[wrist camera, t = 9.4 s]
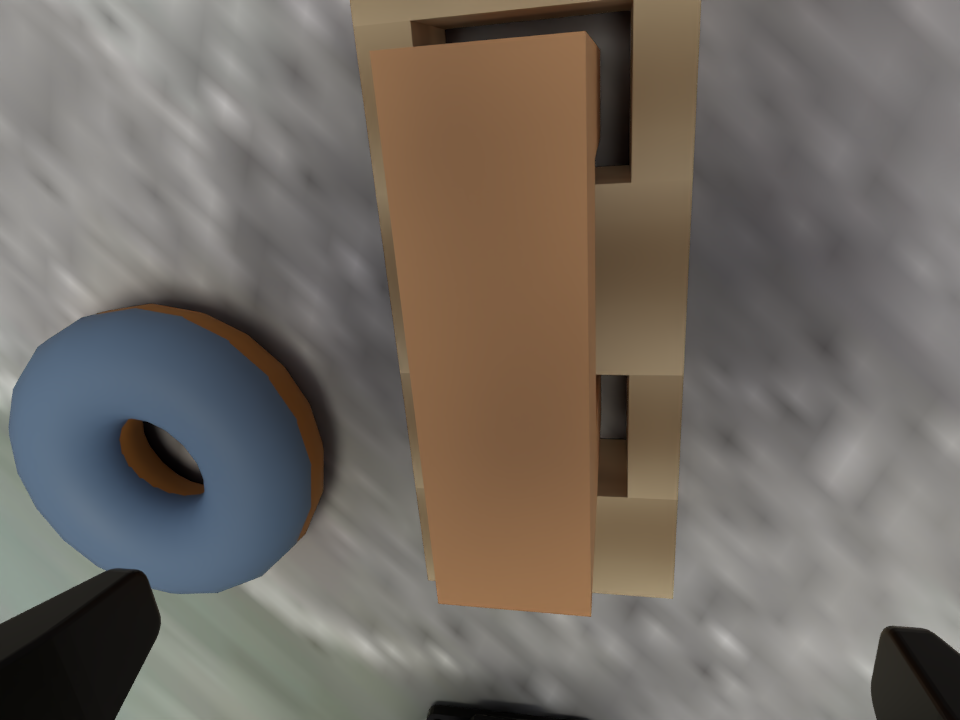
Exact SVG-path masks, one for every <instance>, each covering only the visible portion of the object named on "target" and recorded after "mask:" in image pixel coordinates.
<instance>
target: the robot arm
mask: <svg viewBox="0 0 960 720" xmlns="http://www.w3.org/2000/svg"><path fill="white" fill-rule="evenodd" d="M160 625H161V617H160V613H159V610H158V607H157V604H156V601H155V598H154V595H153V592H152V589H151V586H150V583H149V580H148V578H147V576H146V574H144V573H143V572H142V571H140V570H137V569H124V568H113V569H109V570H107V571H105V572H103V573H101V574H99V575H97V576H95V577H93V578H91V579H89V580H87V581H85V582H83V583H81V584H79V585H77V586H75V587H73V588H71V589H69V590H67V591H65V592H63V593H61V594H59V595H57V596H55V597H53V598H51V599H49V600H47V601H45V602H43V603H41V604H39V605H37V606H35V607H33V608H31V609H29V610H27V611H25V612H23V613H21V614H19V615H17V616H15V617H13V618H11V619H9V620H7V621H5V622H3V623H1V624H0V720H115V718H116V716H117V714H118V712H119V710H120V708H121V706H122V704H123V702H124V700H125V698H126V697H127V695H128V693H129V691H130V689H131V687H132V685H133V683H134V681H135V679H136V677H137V675H138V673H139V671H140V669H141V667H142V665H143V664H144V662H145V660H146V658H147V656H148V654H149V652H150V650H151V648H152V646H153V644H154V642H155V640H156V638H157V636H158V634H159V630H160ZM871 696H872V703H873V707H874V711H875V715H876V718H877V720H960V653H958V652H957V651H956V650H955V649H953V648H952V647H951V646H950V645H948V644H947V643H946V642H945V641H943V640H942V639H941V638H940V637H938V636H937V635H936V634H934V633H933V632H931V631H929V630H927V629H923V628H914V627H901V626H888V627H886V628H884V629H883V631H882V633H881V635H880V639H879V644H878V649H877V654H876V660H875V665H874V670H873V675H872V680H871ZM427 720H564V719H555V718H546V717H538V716H529V715H520V714H512V713H503V712H494V711H486V710H477V709H468V708H460V707H451V706H442V705H435V706H433V707H431V708H430V709H429V713H428V716H427Z"/></svg>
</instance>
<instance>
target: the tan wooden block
mask: <svg viewBox="0 0 960 720" xmlns="http://www.w3.org/2000/svg"><path fill="white" fill-rule="evenodd" d="M369 52H370V60H371V68H372V76H373V84H374V92H375V100H376V108H377V116H378V124H379V132H380V140H381V148H382V156H383V164H384V172H385V180H386V188H387V196H388V204H389V212H390V220H391V228H392V236H393V244H394V252H395V260H396V268H397V276H398V284H399V292H400V300H401V308H402V316H403V324H404V332H405V340H406V348H407V356H408V364H409V372H410V380H411V388H412V396H413V404H414V412H415V420H416V428H417V436H418V444H419V452H420V460H421V468H422V476H423V484H424V492H425V500H426V508H427V516H428V524H429V532H430V540H431V548H432V556H433V564H434V572H435V580H436V588H437V596H438V604H448V605H460V606H471V607H483V608H495V609H506V610H518V611H530V612H541V613H553V614H565V615H576V616H588V617H591V608H592V588H593V568H594V548H595V528H596V507H597V487H598V467H599V447H600V427H601V375H596V301H595V156H596V152H597V148H598V145H599V141H600V49H599V48H598V46H597V45H596V44H595V43H594V41H593V40H592V39H591V37H590V36H589V35H588V33H587V32H586V31H579V32H568V33H557V34H546V35H536V36H525V37H514V38H503V39H492V40H482V41H471V42H460V43H449V44H438V45H428V46H417V47H406V48H395V49H384V50H374V51H369Z"/></svg>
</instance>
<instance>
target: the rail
mask: <svg viewBox="0 0 960 720" xmlns="http://www.w3.org/2000/svg"><path fill="white" fill-rule="evenodd" d="M350 6H351V13H352V21H353V28H354V35H355V43H356V50H357V58H358V65H359V72H360V80H361V87H362V95H363V102H364V109H365V117H366V124H367V132H368V139H369V146H370V154H371V161H372V169H373V176H374V183H375V191H376V198H377V206H378V213H379V220H380V228H381V235H382V243H383V250H384V257H385V265H386V272H387V280H388V287H389V294H390V302H391V309H392V317H393V324H394V331H395V339H396V346H397V354H398V361H399V368H400V376H401V383H402V391H403V398H404V405H405V413H406V420H407V428H408V435H409V442H410V450H411V457H412V465H413V472H414V479H415V487H416V494H417V502H418V509H419V516H420V524H421V531H422V539H423V546H424V553H425V561H426V568H427V575H428V580H431V581H436V580H435V572H434V564H433V556H432V548H431V540H430V532H429V524H428V516H427V508H426V500H425V492H424V484H423V476H422V468H421V460H420V452H419V444H418V436H417V428H416V420H415V412H414V404H413V396H412V388H411V380H410V372H409V364H408V356H407V348H406V340H405V332H404V324H403V316H402V308H401V300H400V292H399V284H398V276H397V268H396V260H395V252H394V244H393V236H392V228H391V220H390V212H389V204H388V196H387V188H386V180H385V172H384V164H383V156H382V148H381V140H380V132H379V124H378V116H377V108H376V100H375V92H374V84H373V76H372V68H371V60H370V52H369V51H374V50H384V49H395V48H406V47H417V46H428V45H438V44H446V39H445V29H452V28H462V27H472V26H482V25H491V24H501V23H511V22H521V21H531V20H541V19H550V18H560V17H570V16H580V15H590V14H600V13H609V12H619V11H629V10H631V56H630V148H629V165H622V166H604V167H595V301H596V375H627V427H626V440H619V439H600V447H599V467H598V487H597V507H596V528H595V548H594V568H593V588H592V593H603V594H616V595H630V596H643V597H656V598H669V599H673V587H674V566H675V545H676V524H677V503H678V481H679V460H680V439H681V418H682V396H683V375H684V354H685V333H686V312H687V290H688V269H689V248H690V227H691V206H692V184H693V163H694V142H695V121H696V99H697V78H698V57H699V36H700V15H701V0H350Z"/></svg>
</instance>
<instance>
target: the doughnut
mask: <svg viewBox="0 0 960 720" xmlns="http://www.w3.org/2000/svg"><path fill="white" fill-rule="evenodd" d="M143 421H147V422H149V423H152V424H154V425H156V426H158V427H160V428H162V429H164V430H165V431H167V432H168V433H169V434H170V435H172V436H173V437H174V438H175V439H176V440H178V441H179V442H180V443H181V444H182V445H184V447H185V448H186V449H187V451H188V452H189V453H190V455H191V456H192V457H193V459H194V460H195V461H196V463H197V465H198V467H199V470H200V472H201V474H202V477H203V479H204V484H200V483H195V482H191V481H189V480H187V479H185V478H183V477H181V476H179V475H178V474H176V473H175V472H174V471H173V470H172V469H170V468H169V467H168V466H167V465H165V464H164V463H163V462H162V461H161V460H160V458H159V457H158V456H157V454H156V453H155V452H154V451H153V449H152V448H151V447H150V445H149V443H148V441H147V438H146V436H145V434H144V429H143ZM9 436H10V441H11V445H12V450H13V454H14V459H15V463H16V468H17V472H18V474H19V476H20V478H21V480H22V482H23V484H24V486H25V488H26V489H27V491H28V493H29V495H30V497H31V499H32V501H33V503H34V505H35V507H36V508H37V510H38V511H39V512H40V513H41V514H42V515H43V517H44V518H45V519H46V520H47V521H48V522H49V524H50V525H51V526H52V527H53V528H54V529H55V531H56V532H57V533H58V534H59V535H60V536H61V538H62V539H63V540H64V541H65V542H67V543H68V544H69V545H71V546H72V547H73V548H74V549H76V550H77V551H78V552H80V553H81V554H82V555H83V556H85V557H86V558H87V559H89V560H90V561H91V562H92V563H94V564H95V565H96V566H98V567H100V568H102V569H104V570H106V571H107V570H109V569H113V568H124V569H137V570H140V571H142V572H143V573H144V574H146V576H147V578H148V580H149V583H150V586H151V588H152V589H156V590H160V591H164V592H168V593H175V594H194V593H218V592H221V591H224V590H226V589H229V588H232V587H234V586H237V585H240V584H242V583H245V582H248V581H250V580H253V579H255V578H258V577H260V576H262V575H263V574H264V573H266V572H267V571H268V570H269V569H270V568H271V567H272V566H273V565H274V564H275V563H276V562H277V561H278V560H279V559H280V558H281V557H282V556H284V555H285V554H286V553H287V552H288V551H289V550H290V549H291V548H292V547H293V546H294V545H295V544H296V543H297V541H299V540H300V539H301V538H302V537H303V536H304V535H305V534H306V531H307V529H308V526H309V524H310V522H311V519H312V517H313V514H314V512H315V510H316V507H317V505H318V502H319V500H320V497H321V495H322V493H323V468H324V450H323V443H322V440H321V437H320V434H319V431H318V428H317V425H316V422H315V419H314V416H313V413H312V410H311V407H310V404H309V402H308V401H307V399H306V398H305V397H304V395H303V394H302V392H301V391H300V389H299V388H298V386H297V385H296V383H295V382H294V380H293V379H292V377H291V376H290V375H289V373H288V372H287V370H286V369H285V367H284V366H283V365H282V364H281V363H280V362H279V361H277V360H276V359H275V358H274V357H273V356H272V355H271V354H269V353H268V352H267V351H266V350H265V349H264V348H262V347H261V346H260V345H259V344H258V343H257V342H256V341H254V340H253V339H252V338H251V337H250V336H249V335H248V334H246V333H243V332H241V331H239V330H237V329H235V328H233V327H231V326H229V325H227V324H225V323H223V322H221V321H219V320H217V319H215V318H213V317H211V316H209V315H207V314H205V313H201V312H196V311H191V310H185V309H179V308H174V307H168V306H163V305H157V304H145V305H139V306H133V307H127V308H121V309H115V310H109V311H105V312H100V313H97V314H95V315H91V316H87V317H82V318H80V319H79V320H77V321H76V322H74V323H73V324H71V325H70V326H68V327H67V328H65V329H63V330H62V331H60V332H59V333H57V334H56V335H54V336H53V337H51V338H50V339H48V340H47V341H45V342H44V343H43V344H41V345H40V346H39V347H37V349H36V351H35V353H34V354H33V356H32V358H31V359H30V361H29V363H28V364H27V366H26V368H25V369H24V371H23V373H22V374H21V376H20V378H19V379H18V381H17V383H16V385H15V387H14V389H13V394H12V402H11V411H10V419H9Z"/></svg>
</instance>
